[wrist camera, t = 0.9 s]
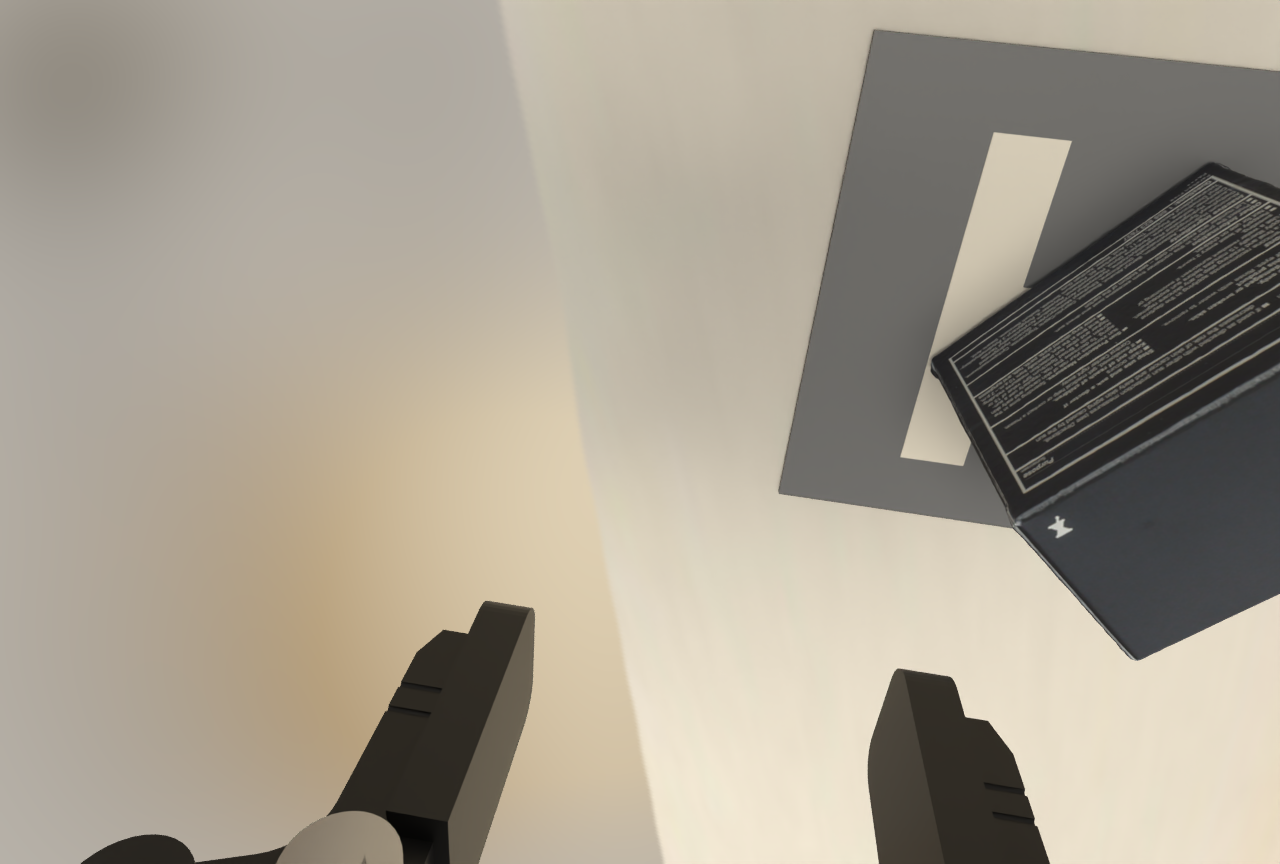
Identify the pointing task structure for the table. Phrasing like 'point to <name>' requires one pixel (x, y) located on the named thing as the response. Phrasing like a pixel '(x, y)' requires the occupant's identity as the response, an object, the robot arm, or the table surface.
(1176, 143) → the letter board
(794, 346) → the table surface
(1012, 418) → the small box
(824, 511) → the table surface
